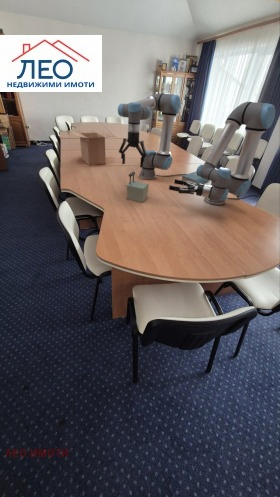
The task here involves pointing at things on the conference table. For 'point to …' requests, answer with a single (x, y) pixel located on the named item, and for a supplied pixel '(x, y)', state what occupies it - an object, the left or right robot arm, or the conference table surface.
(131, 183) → the lid
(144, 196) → the chest
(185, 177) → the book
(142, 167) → the left robot arm
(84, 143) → the box
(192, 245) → the conference table surface
